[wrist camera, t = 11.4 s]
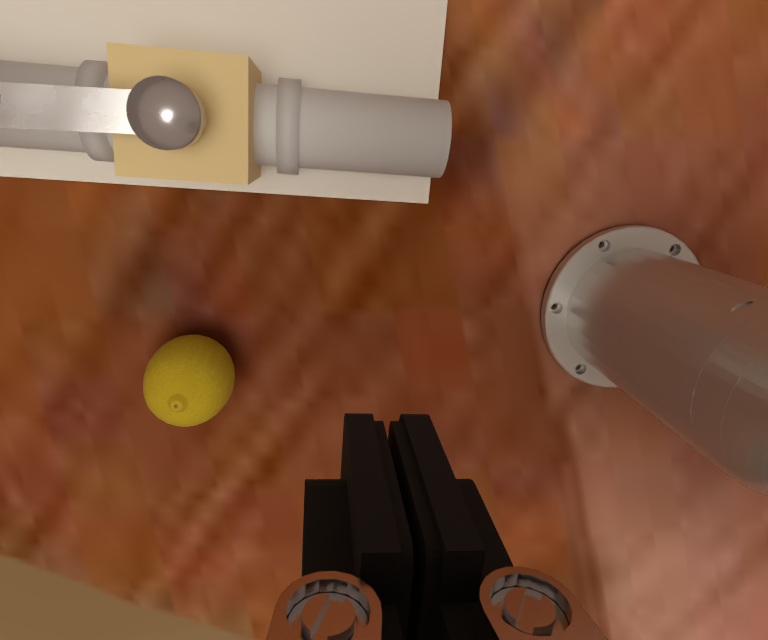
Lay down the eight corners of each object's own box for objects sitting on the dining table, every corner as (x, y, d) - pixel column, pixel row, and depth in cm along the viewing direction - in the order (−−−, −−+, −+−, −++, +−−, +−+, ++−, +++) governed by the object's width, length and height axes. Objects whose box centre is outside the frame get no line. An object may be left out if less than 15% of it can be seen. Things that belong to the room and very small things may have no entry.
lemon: (171, 311, 39) (136, 352, 31) (250, 331, 40) (235, 375, 32) (155, 381, 40) (117, 436, 33) (231, 399, 41) (212, 456, 34)
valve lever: (204, 81, 25) (196, 77, 23) (207, 151, 26) (200, 151, 24) (-154, 59, 23) (-191, 53, 22) (-138, 135, 24) (-172, 135, 22)
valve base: (440, 6, 35) (490, -47, 25) (422, 200, 39) (459, 221, 29) (-47, -49, 31) (-216, -138, 21) (-18, 172, 35) (-150, 184, 25)
